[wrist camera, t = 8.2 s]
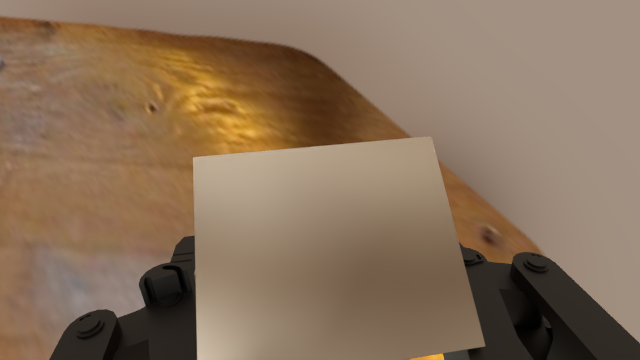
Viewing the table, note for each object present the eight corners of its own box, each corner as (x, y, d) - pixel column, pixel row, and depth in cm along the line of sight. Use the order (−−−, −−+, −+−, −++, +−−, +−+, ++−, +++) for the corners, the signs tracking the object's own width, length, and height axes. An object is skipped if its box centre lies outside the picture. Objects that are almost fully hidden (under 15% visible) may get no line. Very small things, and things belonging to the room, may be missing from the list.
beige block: (247, 242, 20) (192, 157, 9) (354, 230, 21) (431, 136, 10) (254, 341, 19) (198, 393, 7) (369, 323, 19) (485, 346, 8)
